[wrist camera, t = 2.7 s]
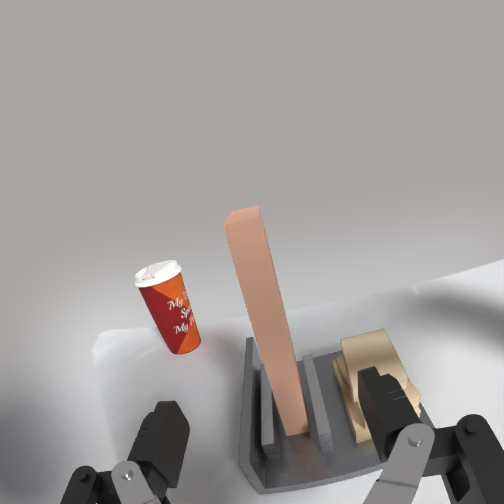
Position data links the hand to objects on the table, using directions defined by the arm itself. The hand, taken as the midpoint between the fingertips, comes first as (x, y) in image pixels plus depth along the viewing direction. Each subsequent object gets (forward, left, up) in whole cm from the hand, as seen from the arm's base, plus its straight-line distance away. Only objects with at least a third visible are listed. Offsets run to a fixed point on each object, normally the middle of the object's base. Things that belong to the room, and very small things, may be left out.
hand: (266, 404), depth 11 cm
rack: (-9, -8, -15) cm, 19 cm away
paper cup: (0, -35, -15) cm, 38 cm away
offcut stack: (-12, -6, -14) cm, 19 cm away
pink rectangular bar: (-5, -9, -14) cm, 17 cm away
